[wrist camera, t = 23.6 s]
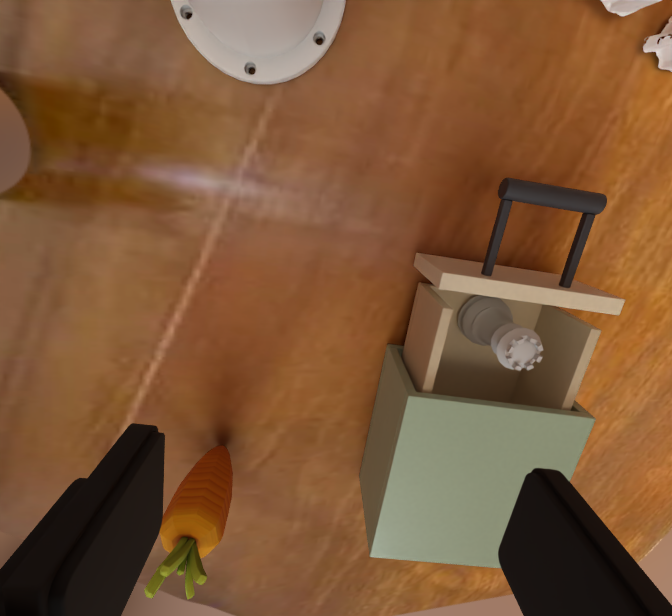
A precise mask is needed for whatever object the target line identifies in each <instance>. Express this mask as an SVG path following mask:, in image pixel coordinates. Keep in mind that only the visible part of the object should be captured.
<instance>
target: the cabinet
mask: <svg viewBox="0 0 672 616" xmlns="http://www.w3.org/2000/svg"><path fill="white" fill-rule="evenodd" d="M403 349H404V346H400V345H393V344H387V348H386V352H385V357H384V362H383V366H382V371H381V376H380V380H379V385H378V390H377V395H376V399H375V404H374V409H373V413H372V418H371V423H370V427H369V432H368V437H367V442H366V446H365V451H364V456H363V460H362V465H361V470H360V474H359V478H360V485H361V493H362V501H363V509H364V516H365V524H366V532H367V540H368V547H369V555H370V557H377V558H389V559H400V560H412V561H423V562H435V563H446V564H458V565H469V566H481V567H492V568H501V566H500V563H499V559H498V550H499V546H500V544H501V541H502V538H503V535H504V533H505V530H506V527H507V525H508V522H509V519H510V517H511V514H512V511H513V508H514V506H515V503H516V500H517V498H518V495H519V492H520V490H521V487H522V484H523V481H524V479H525V476H526V475H527V474H528V473H531V472H532V470H533V469H534V468H544V469H553V470H558V471H560V472H561V473H562V474H563V475H564V476H565V477H566V478H567V479H568V481H569V482H570V480H571V478H572V475H573V473H574V470H575V468H576V466H577V463H578V461H579V458H580V456H581V453H582V451H583V449H584V446H585V444H586V441H587V439H588V437H589V434H590V432H591V429H592V427H593V425H594V422H595V420H596V419H595V418H594V417H593V416H592V415H591V414H590V413H589V412H588V411H586V410H585V409H584V408H583V407H582V406H581V405H579V404H578V403H577V402H576V401H575V400H574V402H573V405H572V407H571V410H570V411H568V410H560V409H552V408H544V407H536V406H527V405H519V404H511V403H503V402H495V401H487V400H479V399H471V398H463V397H454V396H446V395H438V394H430V393H422V392H416V390H415V388H414V385H413V383H412V381H411V379H410V377H409V374H408V372H407V370H406V368H405V366H404V363H403V361H402V359H401V357H402V353H403Z"/></svg>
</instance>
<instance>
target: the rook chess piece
mask: <svg viewBox="0 0 672 616" xmlns="http://www.w3.org/2000/svg"><path fill="white" fill-rule="evenodd" d="M458 326H459V328H460V331H461V333H462V334H463V335H464V336H465V337H466V338H467V339H469V340H470V341H471V342H473V343H476V344H479V345H482V346H491V347H492V350H493V352H494V353H495V354H496V355H497V357H498V360H499V362H500V363H501V364H502V365H503V366H504V367H506V368H509V369H516V370H519V371H521V369H522V368H525V369H526V370H527V371H528V370H530V369H532V368H534V367H533V365H532V363H533V362H534V361H537V362H539V363H540V361H541V359H542V358H543V357H542V356H541V355H540V352H541V351H543V347H542V343H541V340H540V337H539V335H537V334H536V333H535V332H534V331H533V330H530V329H527V328H523V327H522V326H521V325H518V324H515V323H513V316H512V314H511V311H510V308H509V307H508V306H507V305H506V304H505V303H504V302H503V301H502V300H501V299H500V298H497V297H490V296H483V295H479V296H476V297H474V298H472V299H470V300H469V301H468V302H467V303H466V304H465V305H464V306H463V307H462V309H461V311H460V313H459V316H458Z"/></svg>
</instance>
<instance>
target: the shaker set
mask: <svg viewBox="0 0 672 616" xmlns="http://www.w3.org/2000/svg"><path fill="white" fill-rule="evenodd" d="M600 1H602V3H603V4H604V6H605V7H606V9H607V10H608V11H609V12H612V13H617V14H618V15H619V16H626V15H629V14H631V13H633V12H636V11H638V10H639V9H641V8H644V7H646V6H649V5H651V4H654V3H656V2H659V1H662V0H600ZM668 21H669V24H666V26H665V28H664V29H663V30H662V32H661V34H658V35H653V36H650V37H649V39H648V40H647V42H646V44H644V46H643V51H644V52H645V53H646V52H652V51H653V52H656V56H658V58H659V65H658V67H659V68H660V69H661V70H662V69H665V70H670V71H671V72H672V38H671V39H670V37H671V36H668V35H670V34H671V35H672V17H670V19H669V20H668ZM663 36H666V37H665V38H664V39H661V38H660V37H663ZM647 38H648V37H647ZM659 38H660V41H659V44H657V41H658V39H659ZM645 39H646V38H645ZM644 41H645V40H644Z"/></svg>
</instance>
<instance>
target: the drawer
mask: <svg viewBox="0 0 672 616" xmlns="http://www.w3.org/2000/svg"><path fill="white" fill-rule="evenodd" d="M498 196H499V198H500V199H502V200H501V202H500V206H499V209H498V213H497V217H496V220H495V224H494V227H493V231H492V235H491V238H490V242H489V246H488V249H487V253H486V257H485V260H484V263H481V262H474V261H468V260H461V259H455V258H448V257H442V256H435V255H428V254H422V253H416V256H415V261H414V265H413V266H414V267H415V268H416V269H417V270H419V271H420V272H421V273H422V274H423V275H424V276H425V277H426V278H427V279H428V280H430V281H431V282H432V283H433V284H434V285H433V284H426V283H420V282H419V283H418V287H417V292H416V296H415V300H414V305H413V309H412V313H411V318H410V322H409V327H408V331H407V335H406V340H405V344H404V349H403V353H402V357H401V359H402V361H403V363H404V366H405V368H406V370H407V372H408V374H409V377H410V379H411V381H412V383H413V385H414V388H415V390H416V392H422V393H430V394H438V395H446V396H454V397H463V398H471V399H479V400H487V401H495V402H503V403H511V404H519V405H527V406H536V407H544V408H552V409H560V410H568V411H570V410H571V407H572V405H573V402H574V400H575V397H576V395H577V392H578V389H579V387H580V384H581V382H582V379H583V377H584V374H585V371H586V369H587V366H588V364H589V361H590V359H591V356H592V353H593V351H594V348H595V346H596V343H597V340H598V338H599V335H600V333H601V330H600V329H598V328H596V327H595V326H593V325H591V324H589V323H587V322H585V321H583V320H581V319H579V318H577V317H576V316H574V315H572V314H570V313H568V312H566V311H564V310H562V309H560V308H559V307H565V308H572V309H579V310H586V311H593V312H599V313H606V314H613V315H620V312H621V309H622V307H623V304H624V302H625V299H622V298H620V297H617V296H614V295H612V294H609V293H607V292H604V291H602V290H599V289H596V288H594V287H591V286H589V285H586V284H583V283H581V282H578V281H576V280H573V278H574V275H575V272H576V269H577V267H578V264H579V261H580V258H581V255H582V252H583V249H584V247H585V244H586V241H587V238H588V235H589V232H590V229H591V227H592V224H593V221H594V218H595V215H597V214H599V213H601V212H602V211H603V210H604V208H605V206H606V203H607V198H606V196H605V195H604V194H600V193H594V192H588V191H582V190H577V189H571V188H565V187H559V186H553V185H548V184H542V183H536V182H530V181H524V180H519V179H513V178H504V179H503V180H502V182H501V184H500V186H499V190H498ZM512 201H516V202H522V203H528V204H534V205H540V206H546V207H552V208H558V209H564V210H570V211H576V212H582V213H583V214H582V217H581V220H580V223H579V226H578V229H577V232H576V235H575V238H574V241H573V243H572V246H571V249H570V252H569V255H568V258H567V261H566V264H565V267H564V270H563V273H562V275H559V274H552V273H546V272H539V271H533V270H526V269H520V268H513V267H507V266H500V265H495V262H496V258H497V254H498V251H499V247H500V244H501V240H502V237H503V233H504V230H505V226H506V223H507V219H508V216H509V212H510V209H511V205H512ZM479 295H483V296H490V297H497V298H500V299H501V300H502V301H503V302H504V303H505V304H506V305H507V306H508V307H509V308H510V311H511V314H512V316H513V323H515V324H518V325H521V326H522V327H523V328H527V329H530V330H533V331H534V332H535V333H536V334H537V335H539V337H540V340H541V343H542V347H543V351H541V352H540V355H541V356H542V357H543V358H542V359H541V361H540V363H539V362H537V361H534V362H533V363H532V365H533V367H534V368H532V369H530V370H528V371H527V370H526V369H525V368H522V369H521V371H519V370H516V369H509V368H506V367H504V366H503V365H502V364H501V363H500V362H499V360H498V357H497V355H496V354H495V353H494V352H493V350H492V347H491V346H482V345H479V344H476V343H473V342H471V341H470V340H469V339H467V338H466V337H465V336H464V335H463V334H462V333H461V331H460V328H459V326H458V316H459V313H460V311H461V309H462V307H463V306H464V305H465V304H466V303H467V302H468V301H469V300H470V299H472V298H474V297H476V296H479ZM557 306H558V307H557Z"/></svg>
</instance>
